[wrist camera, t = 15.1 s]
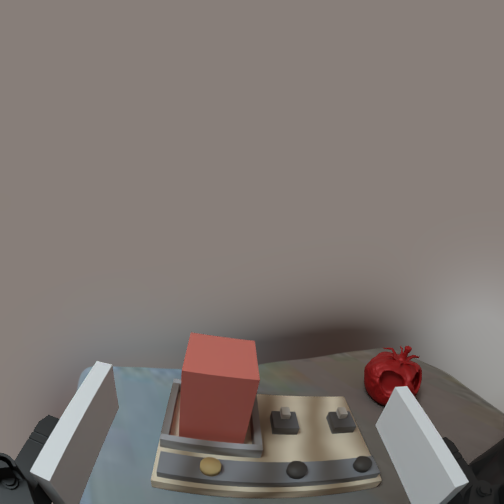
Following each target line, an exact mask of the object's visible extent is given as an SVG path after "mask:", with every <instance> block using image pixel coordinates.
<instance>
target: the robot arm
mask: <svg viewBox="0 0 504 504" xmlns="http://www.w3.org/2000/svg"><path fill="white" fill-rule="evenodd" d="M118 408H119V406H118V400H117V394H116V388H115V381H114V374H113V367H112V365H111V364H107V363H103V362H99V361H97V362H96V363H95V365H94V366H93V368H92V369H91V371H90V372H89V374H88V375H87V377H86V378H85V380H84V382H83V383H82V385H81V386H80V388H79V389H78V391H77V392H76V394H75V396H74V397H73V399H72V400H71V402H70V403H69V405H68V407H67V408H66V410H65V412H64V413H63V415H62V416H61V418H60V419H58V418H55V417H53V416H50V415H48V416H46V417H45V418H44V419H42V420H41V421H39V423H38V424H37V426H36V427H35V429H34V432H32V434H31V435H30V437H29V439H28V440H27V441H26V443H25V445H24V446H23V448H22V450H21V451H20V453H19V454H18V456H17V458H16V459H15V461H14V460H13V459H12V458H11V457H10V456H8V455H6V454H4V453H0V504H51V503H52V502H53V504H79V503H80V500H81V497H82V495H83V492H84V489H85V487H86V484H87V482H88V479H89V477H90V474H91V472H92V469H93V467H94V464H95V462H96V459H97V457H98V455H99V452H100V450H101V447H102V445H103V443H104V440H105V438H106V436H107V433H108V431H109V429H110V426H111V424H112V422H113V420H114V417H115V415H116V413H117V411H118ZM375 426H376V428H377V430H378V432H379V434H380V436H381V438H382V440H383V442H384V445H385V447H386V449H387V451H388V453H389V455H390V458H391V460H392V462H393V464H394V466H395V468H396V471H397V473H398V475H399V477H400V479H401V482H402V484H403V486H404V488H405V491H406V493H407V495H408V497H409V500H410V502H411V504H504V438H503V439H502V440H501V441H499V442H498V443H497V444H495V445H494V446H493V447H491V448H490V449H489V450H487V451H486V452H484V453H483V454H482V455H480V456H479V457H477V458H476V459H474V460H473V461H472V462H471V463H470V464H469V465H467V463H466V461H465V460H464V458H462V455H461V454H460V452H458V449H457V448H456V446H455V445H454V443H453V442H451V441H450V440H449V439H448V438H446V437H444V438H441V436H440V435H439V433H438V431H437V430H436V428H435V427H434V425H433V424H432V422H431V421H430V419H429V418H428V416H427V415H426V413H425V412H424V410H423V409H422V407H421V406H420V404H419V403H418V401H417V400H416V398H415V397H414V395H413V394H412V393H411V391H410V390H409V388H408V387H407V386H402V387H395V388H394V390H393V392H392V394H391V396H390V398H389V400H388V402H387V404H386V406H385V408H384V410H383V412H382V414H381V416H380V418H379V419H378V421H377V423H376V425H375Z"/></svg>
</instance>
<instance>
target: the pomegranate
mask: <svg viewBox="0 0 504 504" xmlns="http://www.w3.org/2000/svg"><path fill="white" fill-rule="evenodd" d="M400 348H401V347H400ZM384 349H391V350H392V352H393V353H391V352H381V353H379V354H378V355H377V356H376V357H374V358H372V359H371V361H370V362H369V363H368V364H367V365H366V367H365V370H364V372H365V373H364V383H365V388H366V390H367V392H368V394H369V395H370V396H371V397H372V399H373V400H375V401H376V402H378V403H379V404H382V405H385V406H386V404H387V402H388V400H389V398H390V396H391V394H392V392H393V390H394V388H395V387H402V386H407V387H408V388H409V390H410V391H411V393H412V394H413V395H414V396H415V395H416V394H417V392H418V390H419V388H420V384H421V380H422V370H421V367H420V366H419V365H418V364H417V363H415V362H412V361H411V359H412V358H419V357H418V356H416V355H412V356H409V357H407V355H408V353H409V352H410V351H411V349H412V348H411V347H409V346H406V347H405V351H404V353H403V348H401V354H400V355H399V354H396V352H395V351H394V349H393V348H384Z"/></svg>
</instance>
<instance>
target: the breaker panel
mask: <svg viewBox="0 0 504 504" xmlns="http://www.w3.org/2000/svg"><path fill="white" fill-rule="evenodd" d="M180 396H181V380H180V379H174V381H173V385H172V389H171V393H170V397H169V401H168V405H167V409H166V414H165V418H164V422H163V426H162V431H161V435H160V441H159V445H158V449H157V454H156V459H155V463H154V468H153V473H152V477H151V484H152V487H155V488H161V489H166V490H172V491H178V492H185V493H192V494H200V495H210V496H221V497H236V498H294V497H310V496H321V495H330V494H338V493H346V492H352V491H358V490H364V489H370V488H375V487H377V486H378V484H379V483H380V482H381V481H382V480H381V477H380V475H379V474H380V471H379V469H378V466H377V464H376V462H375V460H374V458H373V456H371V455H370V453H369V451H368V448H367V446H366V444H365V442H364V440H363V437H362V435H361V433H360V431H359V429H358V426H357V424H356V422H355V420H354V418H353V416H352V413H351V411H350V409H349V407H348V405H347V403H346V401H345V398H344V397H304V396H279V395H263V394H257V393H256V397H255V401H254V405H253V409H252V413H251V417H250V421H249V425H248V429H247V433H246V436H245V440H244V444H239V443H227V442H217V441H208V440H200V439H193V438H186V437H179V418H180Z"/></svg>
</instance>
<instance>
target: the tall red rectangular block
mask: <svg viewBox="0 0 504 504" xmlns="http://www.w3.org/2000/svg"><path fill="white" fill-rule="evenodd" d="M259 381H260V379H259V371H258V364H257V356H256V348H255V341H249V340H241V339H233V338H225V337H218V336H211V335H204V334H197V333H191V334H190V338H189V343H188V347H187V351H186V355H185V359H184V364H183V368H182V377H181V396H180V418H179V437H186V438H193V439H200V440H208V441H217V442H227V443H239V444H244V440H245V436H246V433H247V429H248V425H249V421H250V417H251V413H252V409H253V405H254V401H255V397H256V393H257V389H258V385H259Z"/></svg>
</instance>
